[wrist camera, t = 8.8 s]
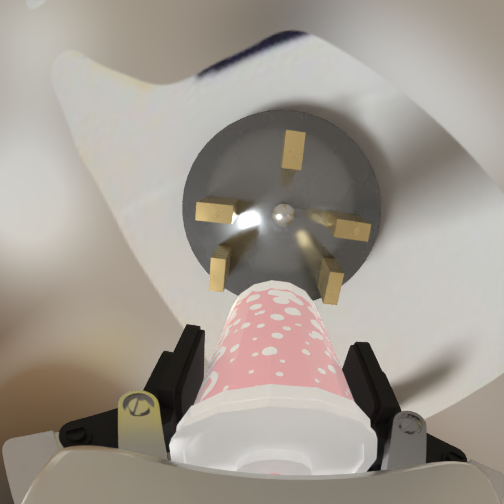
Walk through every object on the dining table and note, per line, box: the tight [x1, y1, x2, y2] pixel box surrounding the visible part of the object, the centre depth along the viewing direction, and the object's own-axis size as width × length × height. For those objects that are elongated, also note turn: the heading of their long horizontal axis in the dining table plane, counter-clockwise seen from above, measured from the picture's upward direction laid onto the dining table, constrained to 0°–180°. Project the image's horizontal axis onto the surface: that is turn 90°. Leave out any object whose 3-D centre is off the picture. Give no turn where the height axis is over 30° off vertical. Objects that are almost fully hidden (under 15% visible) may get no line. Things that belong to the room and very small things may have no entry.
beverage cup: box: [169, 280, 377, 475], centre depth 9 cm, size 6×6×14 cm
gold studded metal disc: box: [183, 110, 381, 305], centre depth 21 cm, size 15×15×5 cm
